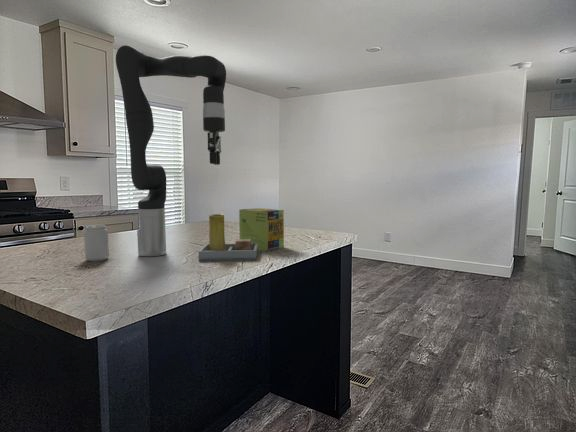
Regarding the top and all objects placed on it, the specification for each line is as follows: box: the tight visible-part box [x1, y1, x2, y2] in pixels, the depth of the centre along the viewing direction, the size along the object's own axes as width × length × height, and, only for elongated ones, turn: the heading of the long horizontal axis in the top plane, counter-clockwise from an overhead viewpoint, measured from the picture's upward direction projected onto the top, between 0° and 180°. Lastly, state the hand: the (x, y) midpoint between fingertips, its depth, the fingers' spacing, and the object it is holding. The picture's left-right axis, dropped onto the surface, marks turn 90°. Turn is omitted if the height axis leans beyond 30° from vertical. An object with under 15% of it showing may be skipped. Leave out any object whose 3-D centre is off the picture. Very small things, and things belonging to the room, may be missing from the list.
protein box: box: [238, 207, 285, 252], centre depth 158 cm, size 10×15×16 cm
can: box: [83, 224, 110, 262], centre depth 136 cm, size 8×8×12 cm
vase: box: [208, 213, 226, 251], centre depth 140 cm, size 6×6×14 cm
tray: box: [197, 243, 259, 262], centre depth 141 cm, size 20×15×3 cm
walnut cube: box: [234, 238, 251, 250], centre depth 141 cm, size 5×5×5 cm
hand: (215, 164), depth 138 cm, fingers open, 8 cm apart
